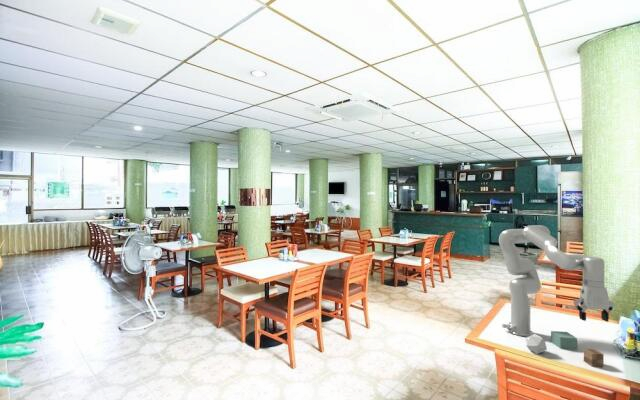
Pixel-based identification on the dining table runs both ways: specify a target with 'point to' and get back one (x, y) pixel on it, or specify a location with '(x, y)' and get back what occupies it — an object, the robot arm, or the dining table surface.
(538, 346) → the die
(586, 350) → the walnut block
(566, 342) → the base block
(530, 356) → the dining table surface
